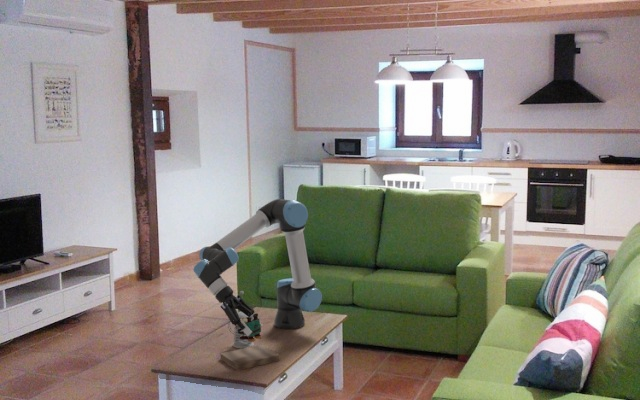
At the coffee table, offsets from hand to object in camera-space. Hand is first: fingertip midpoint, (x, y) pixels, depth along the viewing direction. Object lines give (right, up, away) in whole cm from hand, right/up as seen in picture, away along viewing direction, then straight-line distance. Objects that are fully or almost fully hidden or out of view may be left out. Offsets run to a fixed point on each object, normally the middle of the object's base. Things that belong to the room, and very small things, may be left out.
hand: (255, 330), depth 289 cm
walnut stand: (-3, -13, +3) cm, 13 cm away
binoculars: (-3, -4, +2) cm, 5 cm away
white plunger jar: (-8, -11, +23) cm, 27 cm away
